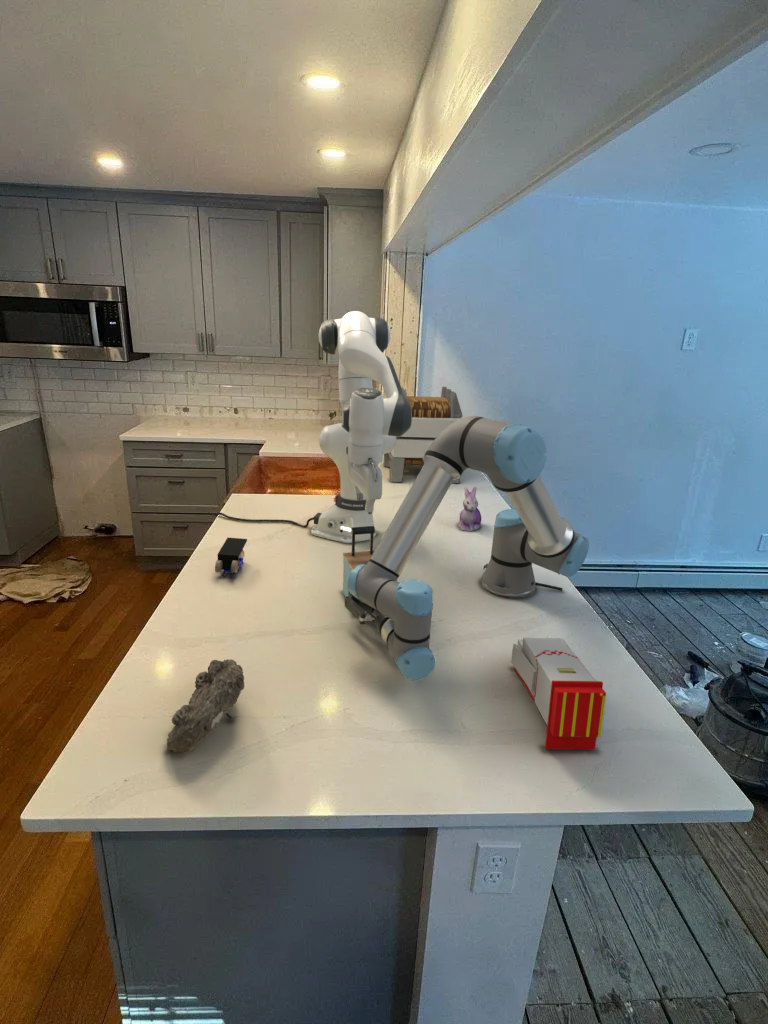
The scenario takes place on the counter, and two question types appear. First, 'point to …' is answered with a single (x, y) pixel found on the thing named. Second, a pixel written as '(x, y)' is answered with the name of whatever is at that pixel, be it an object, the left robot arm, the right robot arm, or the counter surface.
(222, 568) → the black toy rover
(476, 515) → the figurine
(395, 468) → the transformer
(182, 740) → the fossil
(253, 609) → the counter surface
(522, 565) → the right robot arm
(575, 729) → the toy
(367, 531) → the lid
